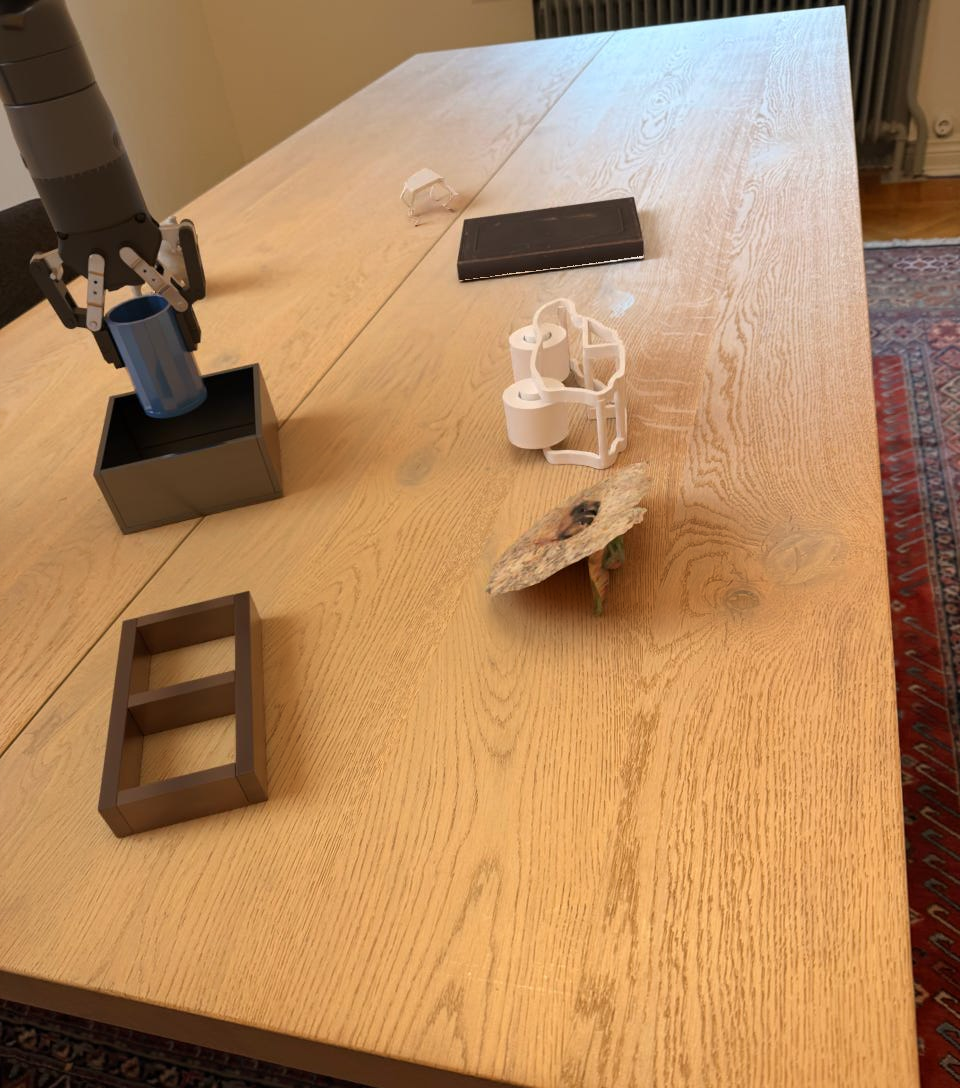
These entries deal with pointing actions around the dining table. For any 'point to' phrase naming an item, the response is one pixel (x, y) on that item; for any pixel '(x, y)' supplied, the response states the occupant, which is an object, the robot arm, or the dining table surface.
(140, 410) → the open box
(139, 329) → the cup
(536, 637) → the dining table surface
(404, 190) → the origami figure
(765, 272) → the dining table surface
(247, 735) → the rack
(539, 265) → the hardcover book
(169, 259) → the dog figurine
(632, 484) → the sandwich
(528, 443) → the toilet paper holder
